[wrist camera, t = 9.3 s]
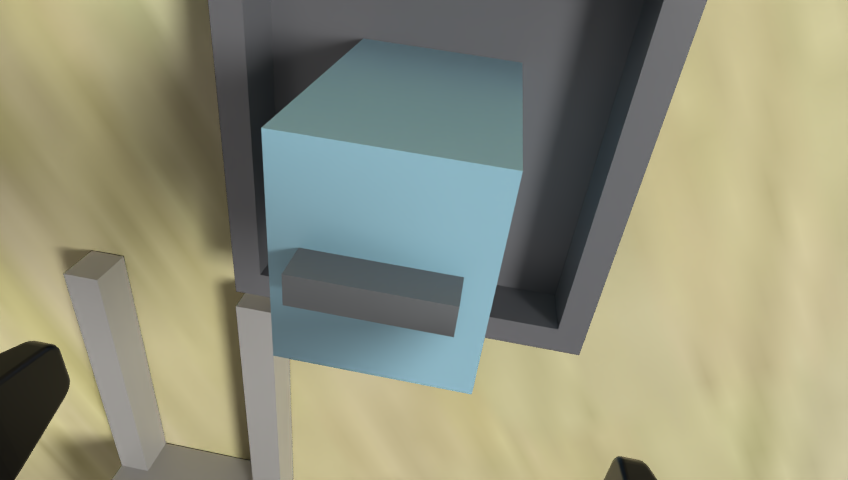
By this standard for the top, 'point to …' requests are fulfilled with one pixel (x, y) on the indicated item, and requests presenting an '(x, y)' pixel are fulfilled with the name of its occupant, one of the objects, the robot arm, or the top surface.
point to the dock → (134, 394)
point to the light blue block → (393, 211)
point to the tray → (542, 125)
